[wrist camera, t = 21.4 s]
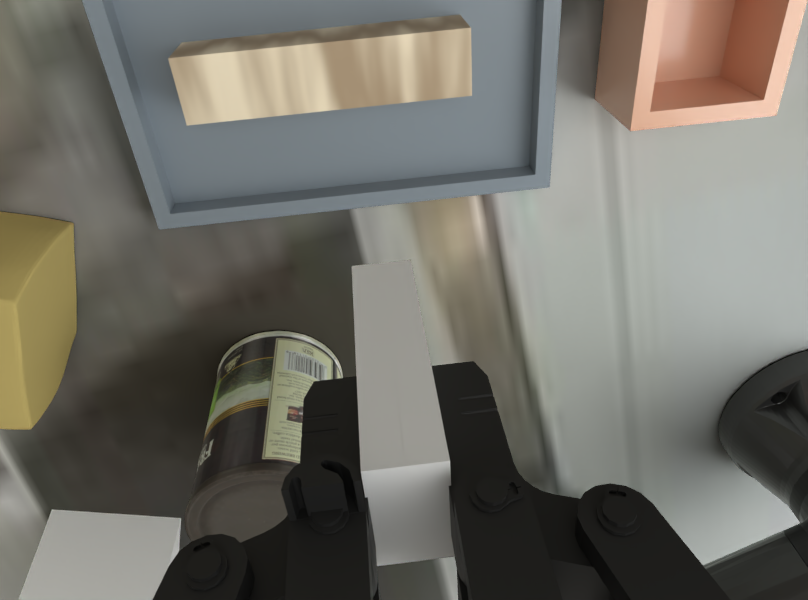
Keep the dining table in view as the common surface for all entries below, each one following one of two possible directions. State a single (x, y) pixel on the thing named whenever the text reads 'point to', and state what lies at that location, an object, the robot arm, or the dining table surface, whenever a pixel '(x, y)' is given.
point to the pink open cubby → (695, 59)
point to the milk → (101, 556)
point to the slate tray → (331, 112)
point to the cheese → (34, 314)
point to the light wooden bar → (323, 69)
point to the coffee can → (254, 433)
